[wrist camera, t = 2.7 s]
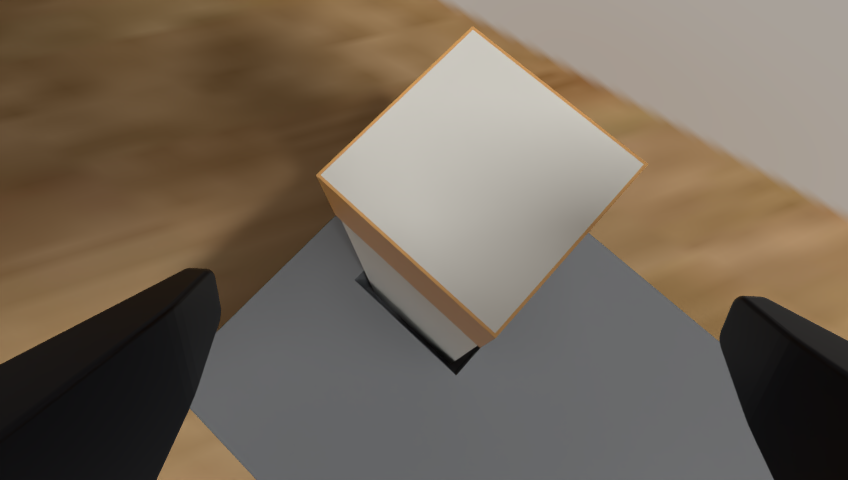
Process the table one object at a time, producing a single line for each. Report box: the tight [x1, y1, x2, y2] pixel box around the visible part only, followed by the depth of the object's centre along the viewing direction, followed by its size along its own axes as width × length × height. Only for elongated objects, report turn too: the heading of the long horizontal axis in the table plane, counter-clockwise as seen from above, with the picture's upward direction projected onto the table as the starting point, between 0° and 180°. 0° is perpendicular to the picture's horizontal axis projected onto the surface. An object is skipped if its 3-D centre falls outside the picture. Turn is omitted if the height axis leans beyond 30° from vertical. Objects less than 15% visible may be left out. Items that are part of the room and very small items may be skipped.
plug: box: [316, 26, 648, 364], centre depth 14 cm, size 4×4×11 cm
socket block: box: [190, 216, 774, 480], centre depth 17 cm, size 20×12×3 cm, turn 47°
